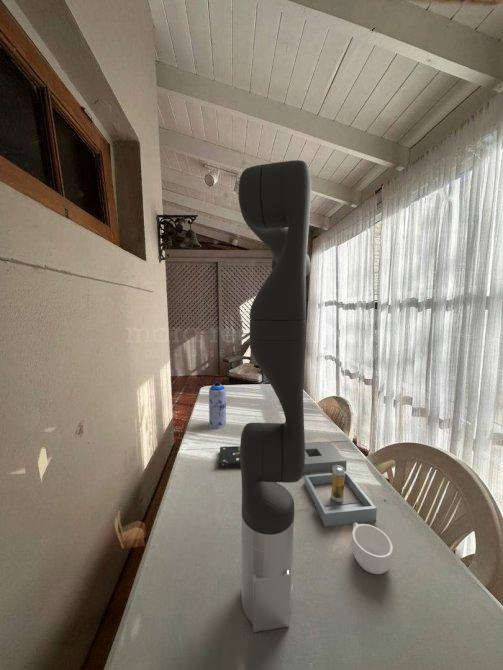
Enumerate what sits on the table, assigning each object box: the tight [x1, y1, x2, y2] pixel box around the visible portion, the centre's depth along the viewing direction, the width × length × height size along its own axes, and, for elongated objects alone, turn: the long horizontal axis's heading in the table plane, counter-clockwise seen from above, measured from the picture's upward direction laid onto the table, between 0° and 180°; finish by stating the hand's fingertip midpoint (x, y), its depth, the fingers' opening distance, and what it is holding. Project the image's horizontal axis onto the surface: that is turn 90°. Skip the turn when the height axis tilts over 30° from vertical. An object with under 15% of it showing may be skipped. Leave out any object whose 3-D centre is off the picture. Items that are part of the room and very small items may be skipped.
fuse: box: [330, 465, 346, 504], centre depth 71 cm, size 3×3×9 cm
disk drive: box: [217, 445, 241, 470], centre depth 92 cm, size 10×3×15 cm
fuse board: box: [303, 441, 348, 474], centre depth 89 cm, size 12×18×4 cm, turn 98°
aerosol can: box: [208, 380, 227, 430], centre depth 117 cm, size 8×8×20 cm
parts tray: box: [303, 471, 378, 528], centre depth 72 cm, size 15×14×4 cm
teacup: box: [351, 523, 394, 575], centre depth 56 cm, size 10×8×5 cm
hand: (288, 380), depth 76 cm, fingers open, 8 cm apart
